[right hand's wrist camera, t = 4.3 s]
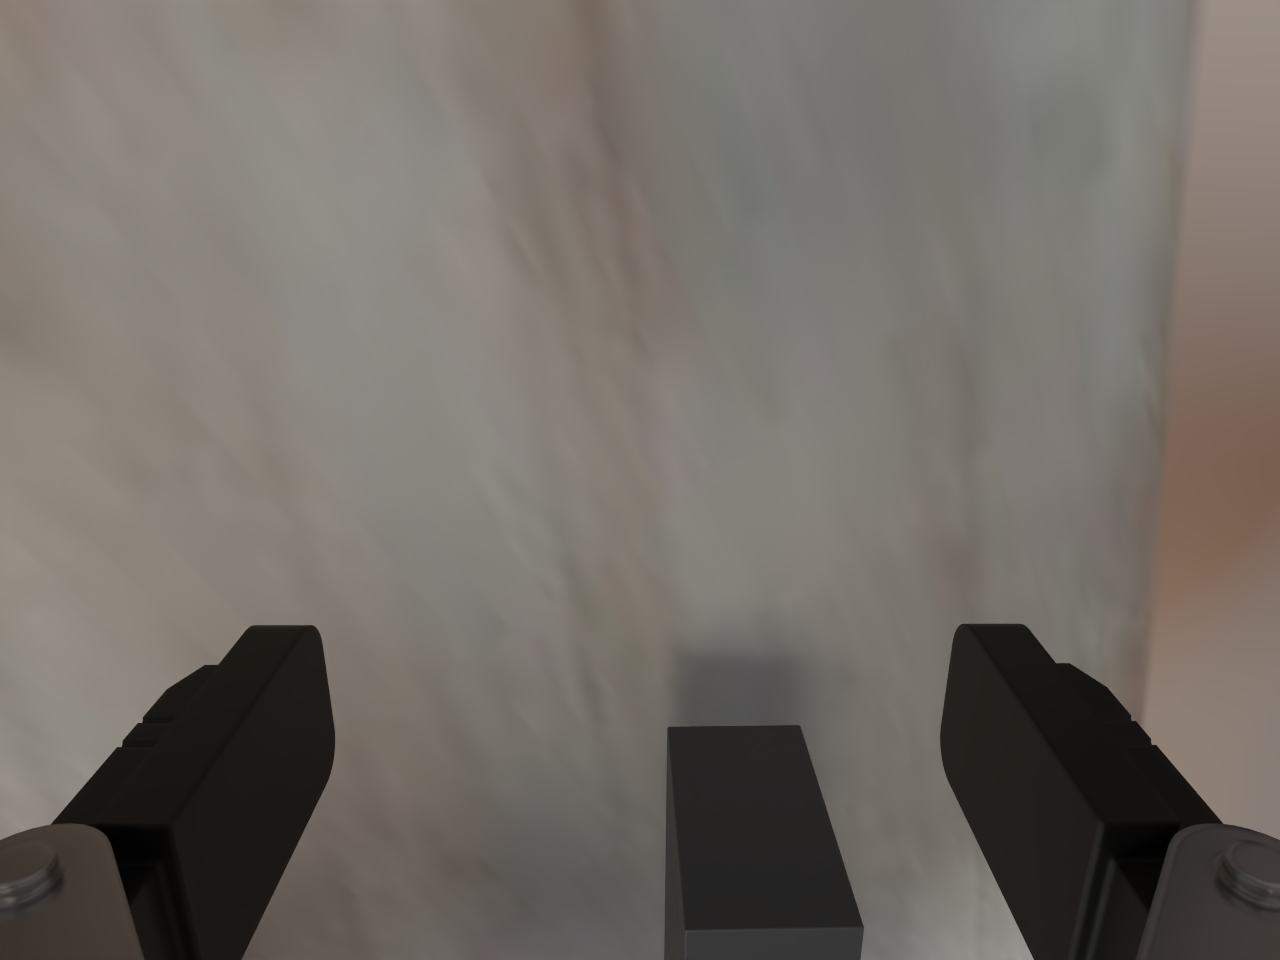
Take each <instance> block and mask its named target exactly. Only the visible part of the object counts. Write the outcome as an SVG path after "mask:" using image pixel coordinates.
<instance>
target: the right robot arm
mask: <svg viewBox="0 0 1280 960" xmlns="http://www.w3.org/2000/svg"><path fill="white" fill-rule="evenodd" d="M940 744H941V755H942V761H943V766H944V770H945V773H946V777H947V779H948V781H949V784H950V786H951V788H952V790H953V792H954V794H955V796H956V798H957V800H958V802H959V804H960V807H961V809H962V811H963V813H964V815H965V817H966V819H967V821H968V823H969V825H970V827H971V829H972V832H973V834H974V836H975V838H976V840H977V842H978V844H979V846H980V848H981V850H982V852H983V854H984V857H985V859H986V861H987V863H988V865H989V867H990V869H991V871H992V873H993V875H994V877H995V879H996V881H997V884H998V886H999V888H1000V890H1001V892H1002V894H1003V896H1004V898H1005V900H1006V902H1007V904H1008V906H1009V909H1010V911H1011V913H1012V915H1013V917H1014V919H1015V921H1016V923H1017V925H1018V927H1019V929H1020V931H1021V934H1022V936H1023V938H1024V940H1025V942H1026V944H1027V946H1028V948H1029V950H1030V952H1031V954H1032V956H1033V959H1034V960H1280V840H1278V839H1276V838H1273V837H1271V836H1268V835H1266V834H1263V833H1260V832H1257V831H1254V830H1251V829H1247V828H1243V827H1238V826H1234V825H1226V824H1223V823H1222V822H1221V821H1220V819H1219V818H1218V817H1217V816H1216V815H1215V814H1214V812H1213V811H1212V810H1211V809H1210V808H1209V806H1208V805H1207V804H1206V803H1205V802H1204V801H1203V799H1202V798H1201V797H1200V796H1199V795H1198V794H1197V792H1196V791H1195V790H1194V789H1193V788H1192V787H1191V785H1190V784H1189V783H1188V782H1187V781H1186V779H1185V778H1184V777H1183V776H1182V775H1181V774H1180V772H1179V771H1178V770H1177V769H1176V768H1175V767H1174V765H1173V764H1172V763H1171V762H1170V761H1169V760H1168V758H1167V757H1166V756H1165V755H1164V754H1163V753H1162V751H1161V750H1160V749H1159V748H1158V747H1157V745H1152V744H1151V738H1150V737H1149V736H1148V735H1147V734H1146V733H1145V731H1144V730H1143V729H1142V728H1141V727H1140V725H1139V724H1138V723H1137V722H1136V721H1131V715H1130V714H1129V713H1128V711H1127V710H1126V709H1125V708H1124V707H1123V706H1122V704H1121V703H1120V702H1119V701H1118V700H1117V698H1116V697H1115V696H1114V695H1113V694H1112V693H1111V691H1110V690H1109V689H1108V688H1107V687H1106V686H1104V685H1103V684H1101V683H1099V682H1098V681H1096V680H1095V679H1093V678H1092V677H1090V676H1089V675H1087V674H1085V673H1084V672H1082V671H1081V670H1079V669H1078V668H1076V667H1075V666H1073V665H1071V664H1070V663H1055V661H1054V660H1053V659H1052V658H1051V656H1050V655H1049V654H1048V653H1047V651H1046V650H1045V649H1044V648H1043V646H1042V645H1041V644H1040V642H1039V641H1038V640H1037V639H1036V637H1035V636H1034V635H1033V634H1032V632H1031V631H1030V630H1029V629H1028V628H1027V627H1026V626H1025V625H1023V624H961V625H960V626H959V627H958V628H957V630H956V632H955V635H954V639H953V644H952V651H951V658H950V665H949V673H948V680H947V687H946V694H945V701H944V708H943V715H942V723H941V733H940ZM334 751H335V729H334V721H333V714H332V707H331V700H330V693H329V686H328V679H327V672H326V665H325V658H324V651H323V644H322V639H321V636H320V633H319V631H318V630H317V628H316V627H315V626H312V625H254V626H251V627H249V628H248V629H247V630H246V631H245V632H244V634H243V635H242V636H241V637H240V639H239V640H238V641H237V642H236V644H235V645H234V646H233V647H232V648H231V650H230V651H229V652H228V653H227V655H226V656H225V657H224V658H223V660H222V661H221V662H220V663H219V665H204V666H203V667H201V668H200V669H198V670H196V671H195V672H193V673H192V674H190V675H189V676H187V677H185V678H184V679H182V680H181V681H179V682H178V683H176V684H175V685H173V686H171V687H170V688H168V689H167V690H166V691H165V692H164V693H163V695H162V696H161V697H160V698H159V699H158V700H157V702H156V703H155V704H154V705H153V706H152V707H151V709H150V710H149V711H148V712H147V713H146V714H145V716H144V717H143V722H142V723H138V724H137V725H136V726H135V727H134V728H133V730H132V731H131V732H130V733H129V734H128V735H127V736H126V738H125V739H124V740H123V745H122V747H117V748H116V749H115V750H114V752H113V753H112V754H111V755H110V756H109V757H108V759H107V760H106V761H105V762H104V763H103V764H102V766H101V767H100V768H99V769H98V770H97V771H96V773H95V774H94V775H93V776H92V777H91V778H90V780H89V781H88V782H87V783H86V784H85V785H84V787H83V788H82V789H81V790H80V791H79V792H78V793H77V795H76V796H75V797H74V798H73V799H72V800H71V802H70V803H69V804H68V805H67V806H66V807H65V809H64V810H63V811H62V812H61V813H60V814H59V816H58V817H57V818H56V819H55V820H54V821H53V823H52V824H51V825H46V826H42V827H37V828H33V829H29V830H26V831H23V832H20V833H17V834H14V835H12V836H9V837H7V838H4V839H2V840H0V960H241V959H242V957H243V955H244V953H245V951H246V949H247V947H248V944H249V942H250V940H251V938H252V936H253V934H254V932H255V930H256V928H257V926H258V924H259V922H260V920H261V918H262V916H263V914H264V912H265V910H266V907H267V905H268V903H269V901H270V899H271V897H272V895H273V893H274V891H275V889H276V887H277V885H278V883H279V881H280V879H281V877H282V875H283V872H284V870H285V868H286V866H287V864H288V862H289V860H290V858H291V856H292V854H293V852H294V850H295V848H296V846H297V844H298V842H299V840H300V838H301V835H302V833H303V831H304V829H305V827H306V825H307V823H308V821H309V819H310V817H311V815H312V813H313V811H314V809H315V807H316V805H317V803H318V800H319V798H320V796H321V794H322V792H323V790H324V788H325V786H326V784H327V782H328V779H329V776H330V773H331V769H332V765H333V759H334Z"/></svg>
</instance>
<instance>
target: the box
mask: <svg viewBox="0 0 1280 960" xmlns="http://www.w3.org/2000/svg"><path fill="white" fill-rule="evenodd" d="M863 930H864V926H863V923H862V920H861V917H860V914H859V910H858V907H857V904H856V901H855V898H854V895H853V892H852V888H851V885H850V882H849V879H848V876H847V873H846V869H845V866H844V863H843V860H842V857H841V854H840V850H839V847H838V844H837V841H836V838H835V835H834V831H833V828H832V825H831V822H830V819H829V816H828V812H827V809H826V806H825V803H824V800H823V797H822V794H821V790H820V787H819V784H818V781H817V778H816V775H815V771H814V768H813V765H812V762H811V759H810V756H809V752H808V749H807V746H806V743H805V740H804V737H803V733H802V730H801V727H800V726H799V725H782V726H703V727H668V729H667V801H666V876H665V952H664V960H860V957H861V948H862V939H863Z"/></svg>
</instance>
